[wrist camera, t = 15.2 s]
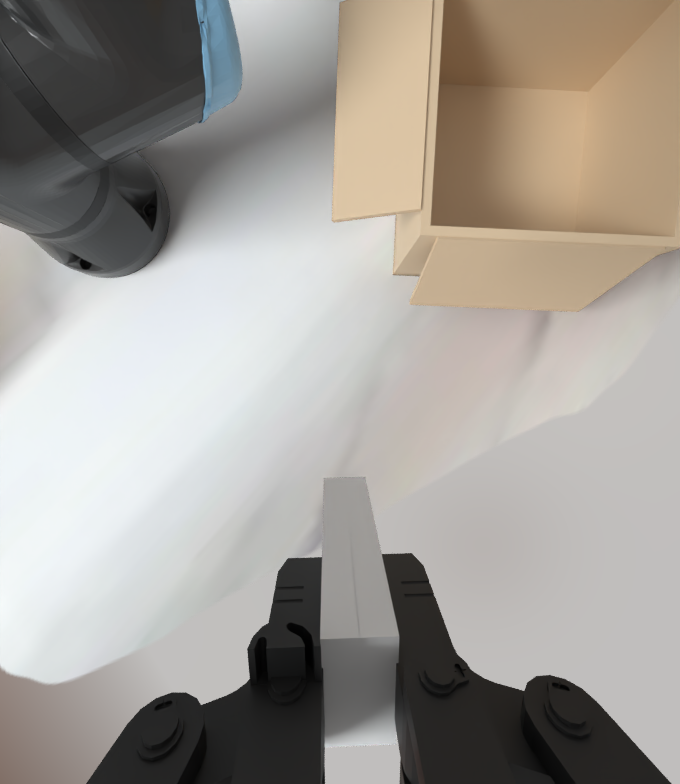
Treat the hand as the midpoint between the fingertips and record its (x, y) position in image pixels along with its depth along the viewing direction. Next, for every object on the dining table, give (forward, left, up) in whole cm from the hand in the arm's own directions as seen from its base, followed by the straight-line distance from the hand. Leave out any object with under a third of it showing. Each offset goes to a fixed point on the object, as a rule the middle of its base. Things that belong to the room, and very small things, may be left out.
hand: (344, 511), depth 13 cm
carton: (-8, +29, -32) cm, 44 cm away
